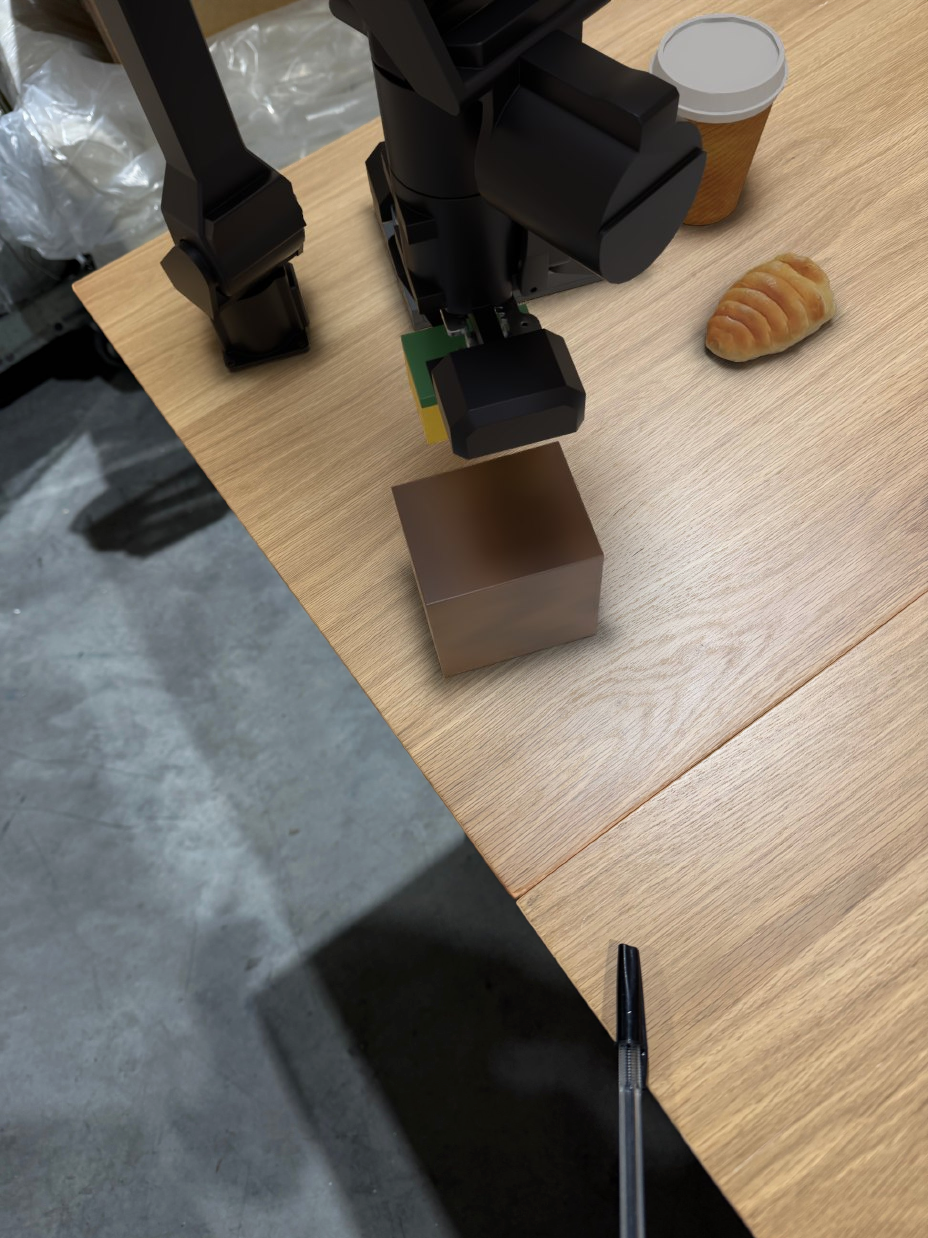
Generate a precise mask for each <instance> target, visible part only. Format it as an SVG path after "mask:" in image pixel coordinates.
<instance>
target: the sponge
mask: <svg viewBox="0 0 928 1238" xmlns="http://www.w3.org/2000/svg"><path fill="white" fill-rule="evenodd" d="M517 305H518V307H519V310H520V311H521V312H523V313H530V311H529V308H528V306H527V304H526V303H521V304H517ZM495 312H496V310H495ZM496 315H497V318H498V312H496ZM466 320H467V325H469V331H468V332H466V333H469V332H473V329H472V326H471V323H470V320H469V318H467V319H466ZM498 321H499V323H500V318H498ZM504 326H505V329H506V331H507V324H504ZM507 332H508V331H507ZM400 341H401V346H402V352H403V356H404V357H403V358H404V364H405V367H406V373H407V378H408V383H409V387H410V390H411V394H412V397H413V401H414V404H415V407H416V410H417V414H418V417H419V420H420V423H421V426H422V430H423V433H424V437H425V440H426V443H427V445H433V444H437V443H440V442H444V441H449V439H448V436H447V433H446V429H445V426H444V423H443V420H442V417H441V414H440V410H439V406H438V402H437V398H436V395H435V392H434V389H433V386H432V383H431V379H430V376H429V373H428V370H427V367H426V364H425V362H426V361H428V360H432V359H436V358H440V357H444V356H446V355H447V354H448V353H449V352H453V351H456V350H457V349H459V348H462V347H464V348H467V346H466V341H465V334H462V335H458V336H449V335H448V333H447V330H446V327H445V324H443V325H439V326H436V327H432V326H431V327H427V328H423V329H419V330H415V331H411V332H408V333H404V334H401V335H400Z"/></svg>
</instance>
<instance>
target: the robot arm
mask: <svg viewBox="0 0 928 1238" xmlns="http://www.w3.org/2000/svg"><path fill="white" fill-rule="evenodd" d="M611 2H612V0H328V8H329V11H330V13H331V14H332V15H333V17H334V18H336V19H337V20H338V21H340V22H341V23H344V24H346V25H347V26H349V27H351V28H352V29H354V30H355V31H357V32H359V33H360V34H362V35H364V37H366V38H367V40H368V48H369V53H370V59H371V66H372V71H373V79H374V85H375V90H376V96H377V103H378V108H379V114H380V120H381V127H382V133H383V139H384V140H383V141H379V142H378V143H377V144H376V146H375V147H374V149H373V150H372V151H371V153H370V154H369V155H368V157H367V158H366V159H365V161H364V165H365V170H366V175H367V181H368V187H369V192H370V195H371V199H372V198H373V199H372V202H373V201H374V204H375V207H376V211H377V214H378V217H379V220H380V223H381V224H385V223H389V222H392V221H393V217H392V211H391V205H393V204H394V205H393V206H392V209H393V214H394V217H395V220H396V223H397V225H394V226H393V227H394V233H395V234H393V235H392V236H391V237H390V238H389V240H388V247H389V250H390V253H391V256H392V259H393V262H394V266H395V269H396V272H397V275H398V277H399V279H400V280H401V282H402V283H403V285H404V286H405V288H406V289H407V291H408V292H409V294H410V295H411V297H412V298H413V300H414V301H415V302H416V306H417V309H418V312H419V315H422V314H424V316H425V317H426V319H427V320H428V322H429V323H430V325H431V326H430V327H431V328H432V327H436V326H439V325H443V324H445V327H446V330H447V333H448V335H449V336H458V335H462V334H465V341H466V346H467V348H464V347H462V348H459V349H457V350H456V351H453V352H449V353H448V354H447V355H446V356H444V357H440V358H436V359H432V360H428V361H426V362H425V364H426V367H427V370H428V373H429V376H430V379H431V383H432V386H433V389H434V392H435V395H436V398H437V402H438V406H439V410H440V414H441V417H442V420H443V423H444V426H445V429H446V433H447V436H448V442H449V445H450V448H451V452H452V454H453V455H455V456H457V457H460V458H462V459H464V460H466V461H471V460H476V459H478V458H479V459H480V458H482V457H487V456H490V455H494V454H497V453H501V452H505V451H509V450H513V449H516V448H521V447H524V446H528V445H533V444H537V443H541V442H544V441H547V440H551V439H555V438H559V437H563V436H566V435H567V436H568V435H571V434H575V433H577V432H578V430H579V429H580V428H581V426H582V424H583V423H584V421H585V416H586V400H587V392H586V390H585V388H584V387H585V386H584V385H583V382H582V380H581V378H580V375H579V372H578V369H577V368H576V365H575V363H574V359H573V357H572V355H571V353H570V350H569V347H568V345H567V343H566V340H565V338H564V336H562V335H559V334H557V333H555V332H553V331H551V330H549V329H547V328H545V327H544V328H543V327H542V324H541V321H540V320H539V318H538V316H536V315H535V314H532V313H531V312H529V313H523V312H521V311H520V310H519V307H518V305H519V304H518V303H517V302H516V299H515V297H514V294H513V291H517V290H520V293H521V295H522V296H524V297H525V296H529V295H533V294H537V293H541V292H545V291H548V271H551V272H554V273H558V274H572V275H598V276H600V277H601V278H603V279H604V281H606V282H607V283H609V284H613V285H621V284H625V283H627V282H630V281H631V280H633V279H635V278H636V277H638V276H640V275H641V274H642V273H644V272H645V271H646V270H647V269H648V268H649V267H651V265H652V264H654V262H655V261H656V260H657V259H658V258H659V257H660V256H661V255H662V254H663V253H664V251H665V250H666V248H667V247H668V246H669V245H670V243H671V242H672V240H673V239H674V238H675V237H676V235H677V233H678V231H679V230H680V228H681V226H682V225H683V224H684V223H683V222H684V220H685V218H686V216H687V214H688V212H689V210H690V208H691V206H692V204H693V202H694V200H695V197H696V195H697V192H698V190H699V187H700V184H701V181H702V177H703V174H704V170H705V166H706V159H707V152H706V151H705V150H703V145H702V135H701V133H700V131H699V129H698V127H697V126H696V125H695V124H693V123H691V122H690V121H688V120H686V119H684V118H683V117H681V116H679V115H677V112H678V105H679V98H680V94H679V92H678V90H677V88H676V86H674V85H672V84H670V83H668V82H666V81H665V80H663V79H661V78H659V77H657V76H655V75H653V74H651V73H649V71H647V70H642V69H637V68H634V67H633V68H632V67H630V66H628V65H625V64H623V63H622V62H619V61H618V60H616V59H615V58H612V57H611V56H609V55H608V54H606V53H604V52H602V51H599V50H598V49H596V48H594V47H592V46H590V45H589V44H587V43H585V42H583V33H584V32H583V30H584V22H585V21H587V19H589V18H590V17H592V16H593V15H595V14H596V13H597V12H599V11H600V10H601V9H603V8H604V7H605V6H607V5H608V4H610V3H611ZM93 3H94V5H95V7H96V9H97V11H98V13H99V16H100V19H101V20H102V22H103V25H104V27H105V28H106V32H107V33H108V35H109V38H110V40H111V43H112V45H113V47H114V49H115V51H116V53H117V56H118V58H119V60H120V62H121V64H122V67H123V69H124V71H125V74H126V75H127V77H128V80H129V82H130V84H131V86H132V89H133V91H134V93H135V96H136V98H137V100H138V102H139V104H140V106H141V108H142V111H143V113H144V115H145V117H146V120H147V122H148V124H149V126H150V128H151V131H152V133H153V136H154V138H155V140H156V142H157V144H158V146H159V148H160V151H161V153H162V155H163V159H164V160H165V168H164V177H163V184H162V192H161V200H160V212H161V214H162V217H163V219H164V223H165V224H166V227H167V229H168V233H169V234H170V237H171V238H172V242H173V246H172V248H170V250H169V251H168V252H167V253H166V254H165V256H164V257H163V258H162V259H161V260H160V262H159V264H160V266H161V268H162V270H163V272H164V273H165V275H166V276H167V278H168V280H169V281H170V283H171V285H172V286H173V287H174V289H175V290H176V291H178V292H179V293H180V294H181V295H182V296H183V297H184V298H186V299H187V300H188V301H189V302H190V303H192V304H193V305H194V306H196V307H197V308H198V309H199V310H201V311H202V312H203V313H204V314H205V315H207V316H208V318H209V321H210V323H211V325H212V328H213V329H214V332H215V335H216V336H217V339H218V341H219V343H220V347H221V352H222V356H223V363H224V365H225V368H226V370H227V371H228V372H230V373H233V372H238V371H242V370H245V369H248V368H252V367H256V366H260V365H263V364H267V363H271V362H275V361H278V360H281V359H282V360H283V359H286V358H289V357H293V356H298V355H300V354H304V353H307V352H308V351H310V349H311V344H310V341H309V337H308V333H307V329H306V328H308V327H309V326H310V325H311V320H310V317H309V314H308V310H307V306H306V303H305V298H304V296H303V292H302V289H301V286H300V284H299V280H298V276H297V273H296V270H295V267H294V264H293V263H292V262H290V261H291V260H293V259H294V258H295V257H299V256H301V255H303V253H304V243H305V242H306V229H305V228H306V227H307V226H308V224H307V222H306V219H305V217H304V211H303V208H302V206H301V205H300V203H299V201H298V197H297V195H296V194H295V191H294V188H293V185H292V184H293V183H292V181H291V180H289V179H288V178H287V177H286V176H285V175H283V174H282V173H281V172H279V171H278V170H276V168H274V167H273V166H271V165H270V164H269V163H267V162H266V161H265V160H263V159H262V158H261V157H260V156H258V155H257V154H255V153H254V152H253V151H251V150H250V149H248V147H247V146H246V143H245V141H244V140H243V137H242V134H241V131H240V128H239V125H238V123H237V121H236V118H235V115H234V113H233V110H232V107H231V105H230V101H229V98H228V97H227V93H226V91H225V88H224V85H223V83H222V80H221V78H220V77H221V76H220V74H219V72H218V70H217V66H216V64H215V61H214V59H213V56H212V53H211V50H210V47H209V44H208V42H207V40H206V37H205V34H204V32H203V31H204V30H203V29H202V26H201V23H200V20H199V18H198V15H197V13H196V10H195V7H194V5H193V1H192V0H93ZM374 204H373V205H374ZM394 266H393V267H394ZM395 269H394V270H395ZM396 272H395V273H396ZM397 275H396V276H397ZM494 308H495V309H494ZM495 311H496V312H498V318H500V323H499V321H498V318H497V315H496V312H495ZM467 318H469V320H470V323H471V326H472V329H473V332H469V333H466V332H468V331H469V325H467V320H466V319H467ZM504 324H507V331H508V332H507V331H506V329H505V326H504Z"/></svg>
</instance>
